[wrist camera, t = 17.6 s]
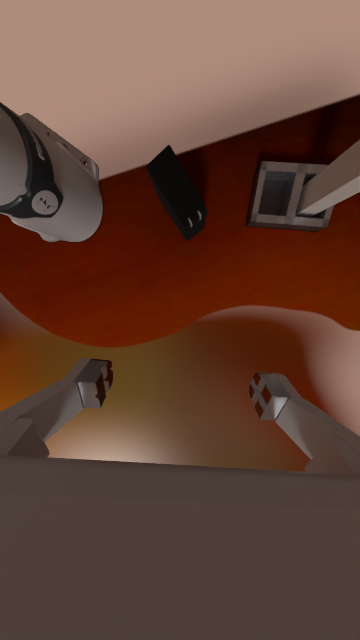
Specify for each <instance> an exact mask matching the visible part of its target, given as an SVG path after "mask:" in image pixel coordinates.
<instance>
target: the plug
mask: <svg viewBox="0 0 360 640" xmlns="http://www.w3.org/2000/svg"><path fill="white" fill-rule="evenodd" d="M358 192H360V140H359V141H357V142H356V143H355V144H354V145H353V146H351V147H350V148H349V149H348V150H347V151H345V152H344V153H343V154H342V155H340V156H339V157H338V158H337V159H336V160H334V161H333V162H332V163H331V164H329V165H328V166H327V167H326V168H325V169H323V170H322V171H321V172H320V173H319V174H317V175H316V176H315V177H314V178H312V179H311V180H310V181H309V182H308V183H306V184H305V185H304V186H303V187H302V190H301V194H300V198H299V202H298V206H297V210H296V213H295V216H299V217H311V216H313V215H315V214H317V213H319V212H321V211H323V210H325V209H327V208H329V207H331V206H333V205H335V204H337V203H339V202H341V201H343V200H344V199H346V198H348V197H350V196H352V195H354V194H356V193H358Z"/></svg>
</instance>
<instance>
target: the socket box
mask: <svg viewBox="0 0 360 640" xmlns="http://www.w3.org/2000/svg"><path fill="white" fill-rule="evenodd" d="M327 166H328V165H318V164H301V163H284V162H268V161H262V162H261V164H260V165H259V167H258V169H257V170H256V172H255V178H254V183H253V189H252V194H251V200H250V205H249V211H248V216H247V222H246V226H251V227H264V228H276V229H289V230H301V231H314V232H316V231H319V230H321V229H324V228H327V226H328V223H329V220H330V216H331V213H332V210H333V206H334V205H333V206H331V207H329V208H327V209H325V210H323V211H321V212H319V213H317V214H315V215H313V216H311V217H299V216H295V213H296V210H297V206H298V202H299V198H300V194H301V190H302V187H303V186H304V185H305V184H306V183H308V182H309V181H310V180H311V179H312V178H314V177H315V176H316V175H317V174H319V173H320V172H321V171H322V170H323V169H325V168H326V167H327Z"/></svg>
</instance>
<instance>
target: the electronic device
mask: <svg viewBox="0 0 360 640" xmlns="http://www.w3.org/2000/svg"><path fill="white" fill-rule="evenodd" d="M146 168H147V171H148V173H149V176H150V178H151V180H152V183H153V185H154V187H155V190H156V192H157V194H158V197H159V199H160V201H161V202H162V204H163V205H164V207H165V208H166V210H167V212H168V213H169V215H170V216H171V218H172V219H173V221H174V223H175V224H176V226H177V227H178V229H179V230H180V232H181V234H182V235H183V237H184V238H185V240H186V241H188V240H189V239H191V238H192V237H193V236H194V235H196V234H197V233H198V232H200V231H201V230H202V229H203V228H204V225H205V220H206V216H207V209H206V206H205V204H204V202H203V201H202V199H201V197H200V196H199V194H198V192H197V191H196V189H195V187H194V185H193V184H192V182H191V180H190V179H189V177H188V175H187V174H186V172H185V170H184V168H183V167H182V165H181V163H180V162H179V160H178V158H177V157H176V155H175V153H174V152H173V150H172V148H171V147H170V145H168V146H167V147H166V148H165V149H164V150H163V151H162V152H160V153H159V154H158V155H157V156H156V157H155V158H154V159H153V160H152V161H151V162H150V163H149V164H148V165H147V166H146Z"/></svg>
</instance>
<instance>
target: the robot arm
mask: <svg viewBox="0 0 360 640" xmlns="http://www.w3.org/2000/svg"><path fill="white" fill-rule="evenodd" d="M86 163H87V165H86V166H85V164H86ZM98 181H99V168H98V166H97V164H96V163H95V162H94V161H93V160H92V159H90V158H89V157H88V156H86V155H85V154H84V153H82V152H81V151H80V150H78V149H77V148H75V147H74V146H73V145H71V144H70V143H69V142H67V141H66V140H65V139H63V138H62V137H60V136H59V135H58V134H57V133H55V132H54V131H52V130H51V129H50V128H48V127H47V126H46V125H44V124H43V123H42V122H40V121H39V120H38V119H36V118H35V117H33V116H32V115H30V114H29V113H25V114H23V115H21V116H19V115H17V114H16V113H14V112H13V111H12V110H10V109H9V108H8V107H6V106H5V105H3V104H2V103H1V102H0V213H1V214H4V215H8V216H9V217H10V218H11V219H12V222H14V223H15V224H17V225H19V226H22V227H25V228H27V229H30V230H33V231H35V232H38V233H39V234H40V236H41V237H42V238H43V239H44V240H46V241H49V242H54V241H58V240H65V241H69V242H79V241H83V240H85V239H87V238H89V237H90V236H91V235H93V234H94V232H95V231H96V230H97V228H98V226H99V224H100V222H101V218H102V212H103V204H102V197H101V193H100V189H99V184H98ZM111 367H112V361H110V360H100V359H89V358H82V359H80V360H79V361H78V362H77V364H76V365H75V366H74V367H73V368H72V370H71V371H70V372H69V373H68V374H67V375H66V377H65V378H64V379H63V380H62V381H58V382H56V383H54V384H52V385H50V386H48V387H46V388H44V389H42V390H41V391H39V392H37V393H35V394H33V395H31V396H29V397H27V398H25V399H24V400H22V401H20V402H18V403H16V404H14V405H13V406H10V407H8V408H7V409H5V410H3V411H1V412H0V640H360V436H358V435H357V434H355V433H354V432H352V431H351V430H349V429H348V428H346V427H345V426H344V425H342V424H341V423H339V422H338V421H336V420H335V419H333V418H332V417H330V416H329V415H327V414H326V413H325V412H323V411H322V410H320V409H319V408H317V407H316V406H314V405H313V404H311V403H310V402H308V401H307V400H306V399H302V398H301V396H300V395H299V394H298V392H297V391H296V390H295V389H294V387H293V386H292V385H291V383H290V382H289V381H288V379H287V378H286V377H285V376H284V375H283V374H275V373H273V374H272V373H259V372H256V373H255V374H254V375H253V379H254V380H253V381H252V382H250V384H249V396H250V398H251V400H252V401H253V402H254V403H255V410H256V412H257V414H258V417H259V419H262V420H273V421H275V422H276V423H277V424H278V425H279V426H280V427H281V428H282V429H283V430H284V431H285V432H286V433H287V434H288V435H289V437H290V438H291V439H292V440H293V441H294V442H295V443H296V444H297V445H298V446H299V447H300V448H301V449H302V450H303V451H304V452H305V453H306V454H307V455H308V457H309V458H310V459H311V461H310V462H309V463H308V464H307V465H306V467H305V469H306V471H307V472H296V471H278V470H260V469H243V468H242V469H241V468H226V467H208V466H189V465H173V464H172V465H171V464H155V463H137V462H119V461H101V460H84V459H83V460H82V459H65V458H48V456H49V450H48V448H47V447H46V445H45V443H44V442H45V441H46V440H47V439H49V438H50V437H51V436H52V435H53V434H54V433H55V432H57V431H58V430H59V429H60V428H61V427H63V426H64V425H65V424H66V423H67V422H68V421H70V420H71V419H72V418H73V417H74V416H75V415H77V414H78V413H79V412H80V411H81V410H82V409H83V408H101V406H102V404H103V402H104V400H105V398H106V393H105V392H107V391H108V390H109V389H110V387H111V385H112V382H113V371H112V370H111Z"/></svg>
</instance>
